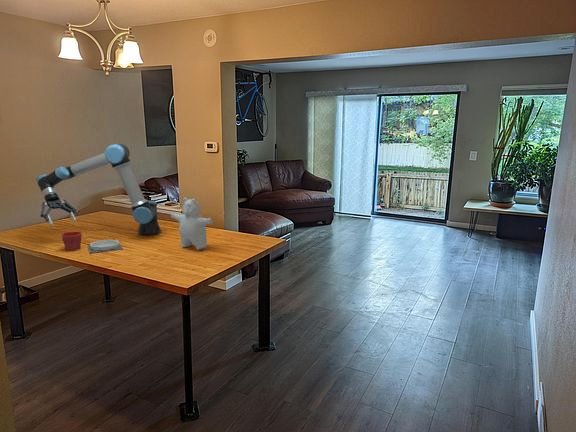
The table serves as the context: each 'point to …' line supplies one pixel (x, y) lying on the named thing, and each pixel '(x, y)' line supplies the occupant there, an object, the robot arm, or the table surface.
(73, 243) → the flower pot
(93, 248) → the grey octagonal tray
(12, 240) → the table surface
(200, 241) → the bear
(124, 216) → the table surface
